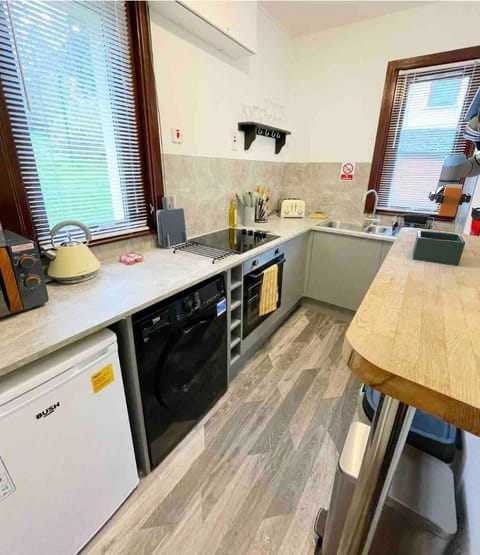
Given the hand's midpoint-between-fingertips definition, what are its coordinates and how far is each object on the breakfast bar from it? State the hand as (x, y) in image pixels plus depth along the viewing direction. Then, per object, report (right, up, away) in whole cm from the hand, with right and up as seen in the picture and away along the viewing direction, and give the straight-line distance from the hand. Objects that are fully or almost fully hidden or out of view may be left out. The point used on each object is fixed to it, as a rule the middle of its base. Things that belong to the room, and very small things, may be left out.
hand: (451, 200), depth 97 cm
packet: (+3, -4, +6) cm, 8 cm away
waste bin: (-8, -20, -2) cm, 22 cm away
